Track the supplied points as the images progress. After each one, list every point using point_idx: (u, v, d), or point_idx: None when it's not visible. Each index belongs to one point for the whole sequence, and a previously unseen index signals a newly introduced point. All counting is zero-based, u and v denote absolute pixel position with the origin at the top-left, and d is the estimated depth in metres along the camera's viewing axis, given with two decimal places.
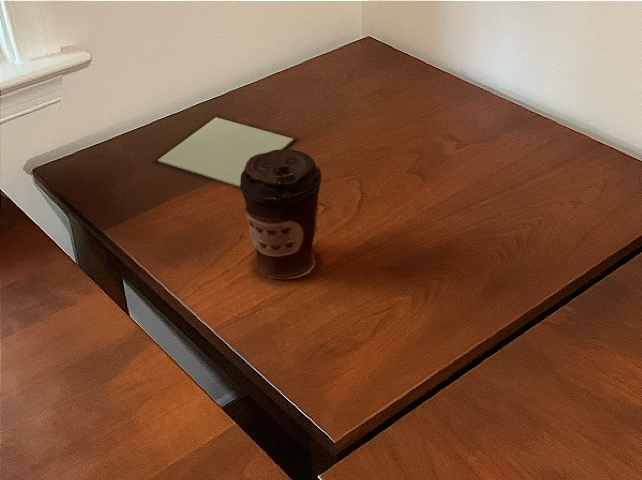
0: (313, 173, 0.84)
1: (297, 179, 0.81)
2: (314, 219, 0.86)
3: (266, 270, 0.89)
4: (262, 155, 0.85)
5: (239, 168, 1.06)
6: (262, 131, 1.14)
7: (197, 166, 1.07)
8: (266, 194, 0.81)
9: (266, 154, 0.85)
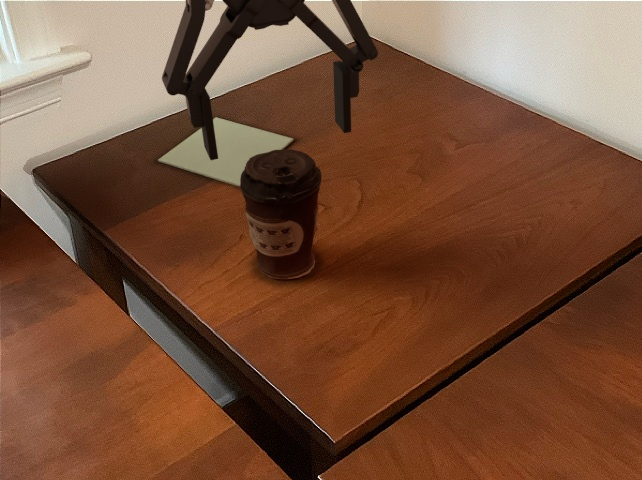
0: (313, 173, 0.84)
1: (297, 179, 0.81)
2: (314, 219, 0.86)
3: (266, 270, 0.89)
4: (262, 155, 0.85)
5: (239, 168, 1.06)
6: (262, 131, 1.14)
7: (197, 166, 1.07)
8: (266, 194, 0.81)
9: (266, 154, 0.85)
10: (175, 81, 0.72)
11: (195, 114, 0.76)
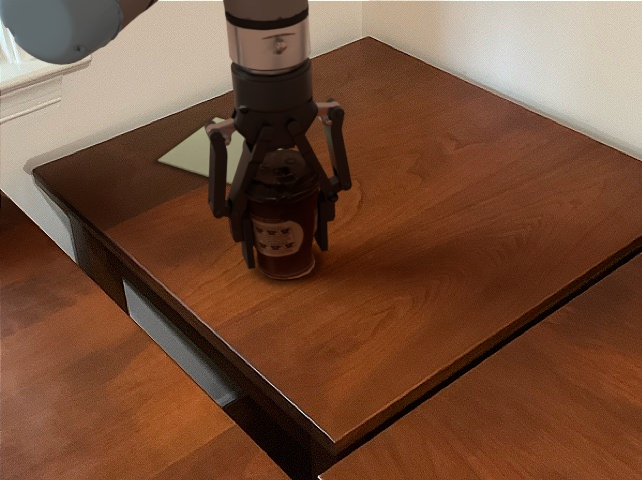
0: (313, 173, 0.84)
1: (297, 179, 0.81)
2: (314, 219, 0.86)
3: (266, 270, 0.89)
4: None
5: None
6: None
7: (197, 166, 1.07)
8: (266, 195, 0.81)
9: (266, 154, 0.85)
10: (218, 207, 0.82)
11: (236, 232, 0.85)
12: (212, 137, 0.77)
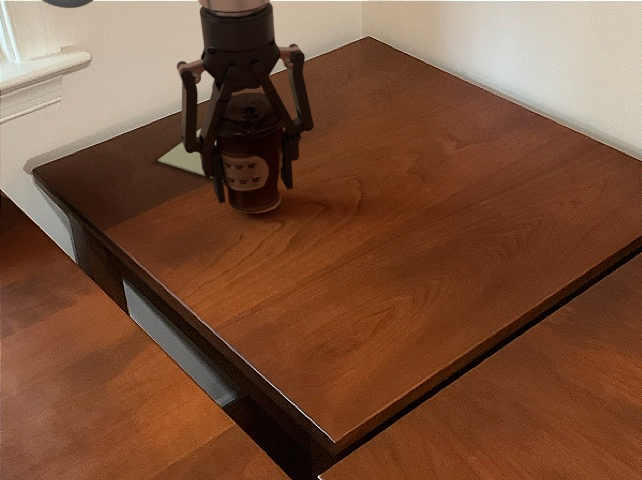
0: (276, 112, 0.92)
1: (261, 117, 0.89)
2: (278, 156, 0.94)
3: (235, 205, 0.97)
4: (231, 97, 0.93)
5: None
6: None
7: (197, 166, 1.07)
8: (232, 130, 0.89)
9: (234, 96, 0.93)
10: (190, 142, 0.90)
11: (207, 167, 0.93)
12: (183, 75, 0.85)
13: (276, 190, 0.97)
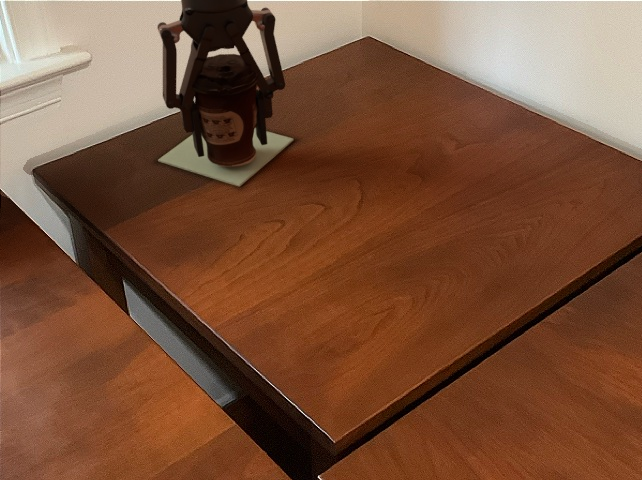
0: (250, 71, 1.00)
1: (235, 74, 0.97)
2: (253, 113, 1.02)
3: (214, 159, 1.05)
4: (208, 58, 1.01)
5: (239, 168, 1.06)
6: None
7: (197, 166, 1.07)
8: (209, 87, 0.97)
9: (212, 57, 1.01)
10: (170, 98, 0.98)
11: (187, 122, 1.01)
12: (163, 34, 0.93)
13: (251, 145, 1.05)
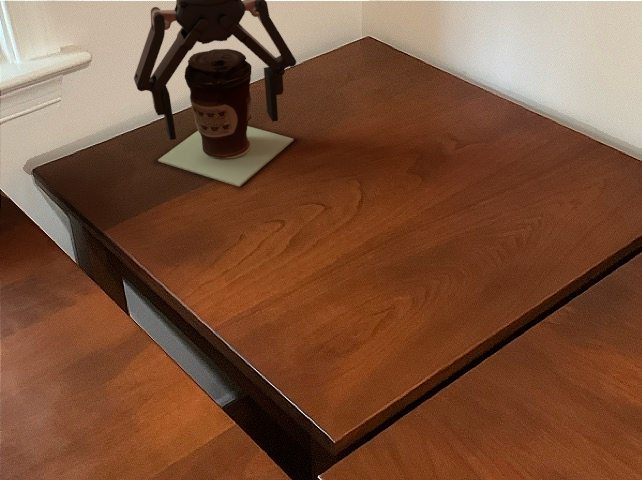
0: (244, 66, 1.02)
1: (229, 68, 1.00)
2: (246, 106, 1.05)
3: (209, 151, 1.08)
4: (203, 52, 1.04)
5: (239, 168, 1.06)
6: (262, 131, 1.14)
7: (197, 166, 1.07)
8: (204, 80, 1.00)
9: (206, 52, 1.04)
10: (143, 81, 0.99)
11: (158, 105, 1.02)
12: (156, 18, 0.95)
13: (245, 138, 1.08)
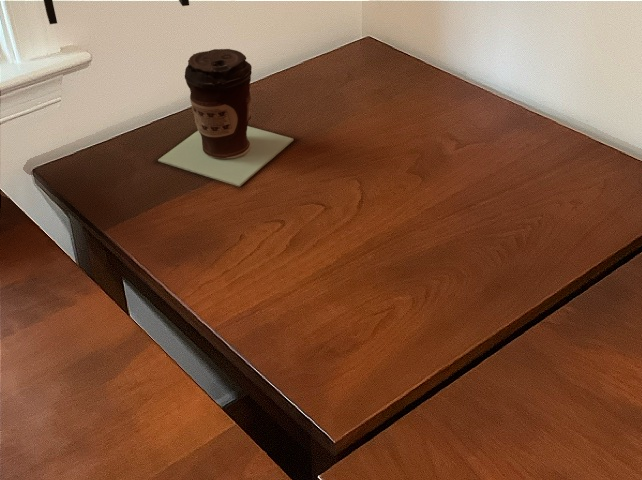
0: (244, 66, 1.02)
1: (229, 68, 1.00)
2: (246, 106, 1.05)
3: (209, 151, 1.08)
4: (203, 52, 1.04)
5: (239, 168, 1.06)
6: (262, 131, 1.14)
7: (197, 166, 1.07)
8: (204, 80, 1.00)
9: (207, 52, 1.04)
10: None
11: None
12: None
13: (245, 138, 1.08)
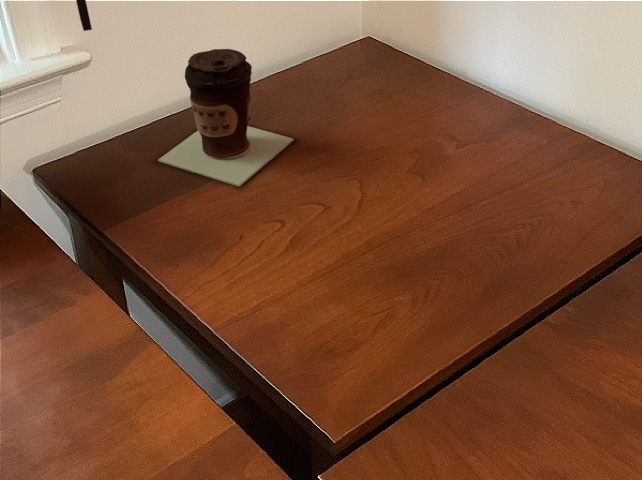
0: (244, 66, 1.02)
1: (229, 68, 1.00)
2: (246, 106, 1.05)
3: (209, 151, 1.08)
4: (203, 52, 1.04)
5: (239, 168, 1.06)
6: (262, 131, 1.14)
7: (197, 166, 1.07)
8: (204, 80, 1.00)
9: (207, 52, 1.04)
10: None
11: None
12: None
13: (245, 138, 1.08)
